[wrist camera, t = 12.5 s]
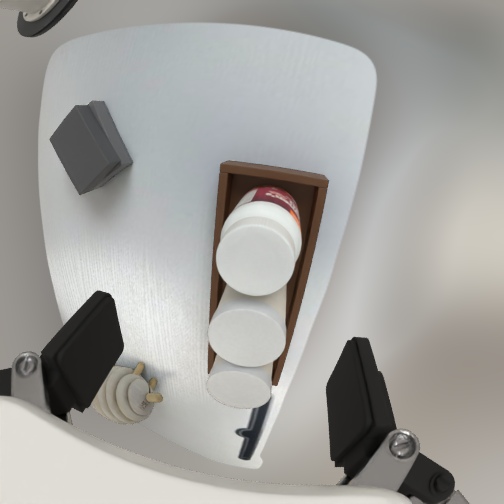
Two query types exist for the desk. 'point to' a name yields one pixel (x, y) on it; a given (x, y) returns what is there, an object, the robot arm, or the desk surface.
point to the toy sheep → (126, 396)
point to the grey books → (90, 146)
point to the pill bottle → (260, 242)
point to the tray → (310, 213)
